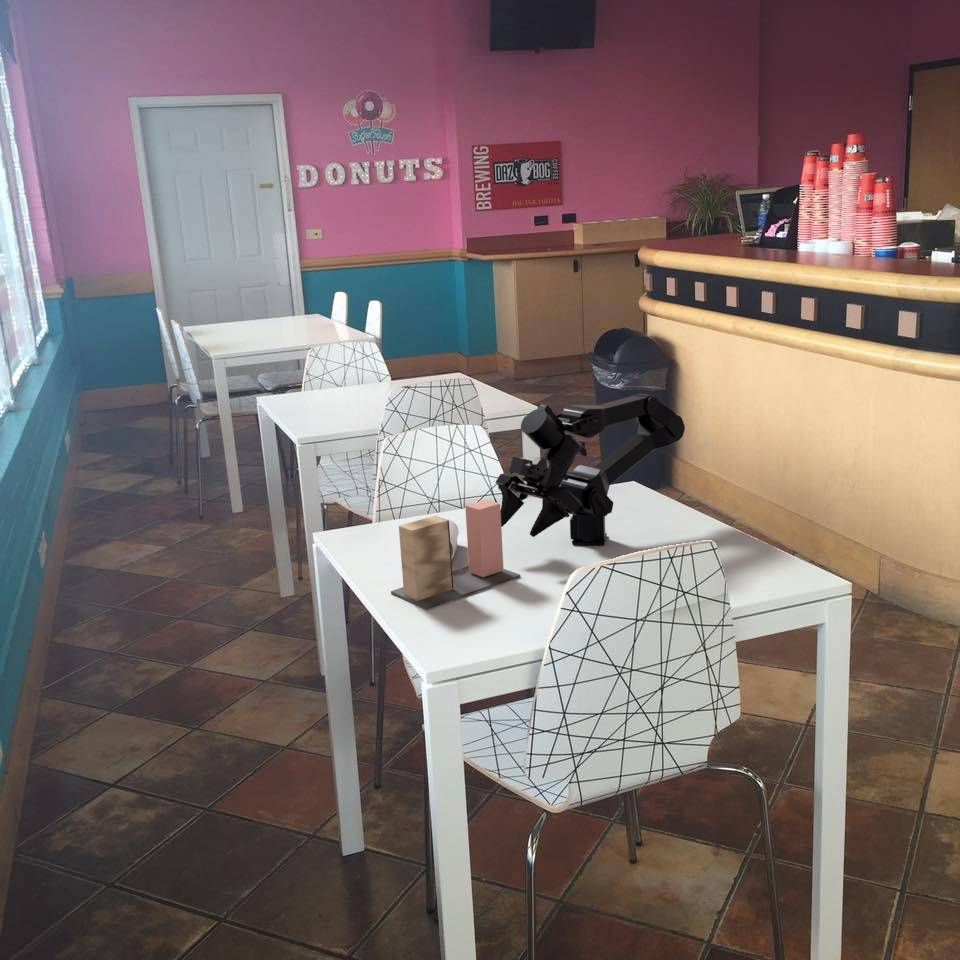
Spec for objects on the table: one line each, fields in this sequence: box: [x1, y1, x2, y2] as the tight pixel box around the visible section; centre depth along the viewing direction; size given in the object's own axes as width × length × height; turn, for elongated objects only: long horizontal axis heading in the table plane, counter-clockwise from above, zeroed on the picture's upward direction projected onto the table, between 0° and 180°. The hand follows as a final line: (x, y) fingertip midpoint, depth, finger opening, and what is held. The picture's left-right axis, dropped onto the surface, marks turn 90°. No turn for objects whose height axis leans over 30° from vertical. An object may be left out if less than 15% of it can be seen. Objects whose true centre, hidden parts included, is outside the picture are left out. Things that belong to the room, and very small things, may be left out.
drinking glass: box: [446, 518, 460, 560], centre depth 204 cm, size 7×7×15 cm
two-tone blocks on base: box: [390, 515, 522, 611], centre depth 187 cm, size 22×11×14 cm, turn 129°
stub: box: [464, 499, 505, 577], centre depth 191 cm, size 5×4×13 cm
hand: (515, 530), depth 195 cm, fingers open, 9 cm apart
